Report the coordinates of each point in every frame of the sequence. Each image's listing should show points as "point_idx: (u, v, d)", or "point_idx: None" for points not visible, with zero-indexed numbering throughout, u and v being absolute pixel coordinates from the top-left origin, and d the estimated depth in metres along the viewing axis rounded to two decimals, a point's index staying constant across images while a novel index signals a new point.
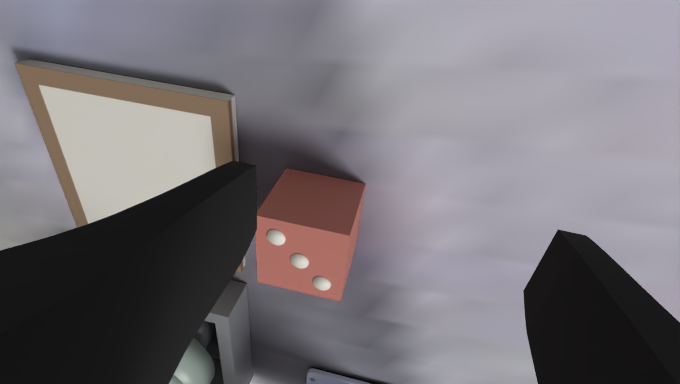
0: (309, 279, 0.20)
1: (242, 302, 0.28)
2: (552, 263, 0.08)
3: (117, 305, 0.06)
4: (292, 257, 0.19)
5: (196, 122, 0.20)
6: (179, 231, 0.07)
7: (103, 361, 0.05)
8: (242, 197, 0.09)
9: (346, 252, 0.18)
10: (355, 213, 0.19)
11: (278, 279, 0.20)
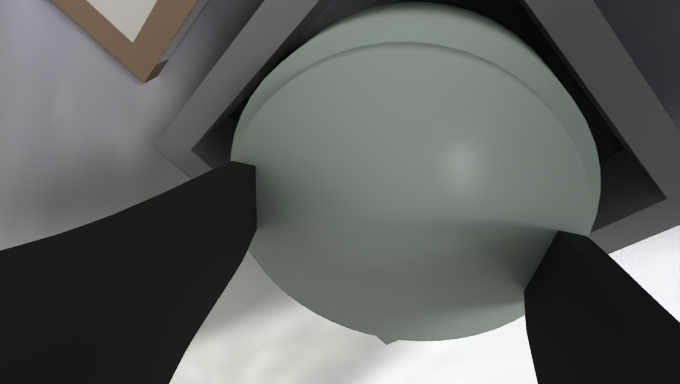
0: None
1: None
2: (552, 263, 0.08)
3: (117, 305, 0.06)
4: None
5: None
6: (179, 231, 0.07)
7: (103, 361, 0.05)
8: (242, 197, 0.09)
9: None
10: None
11: None
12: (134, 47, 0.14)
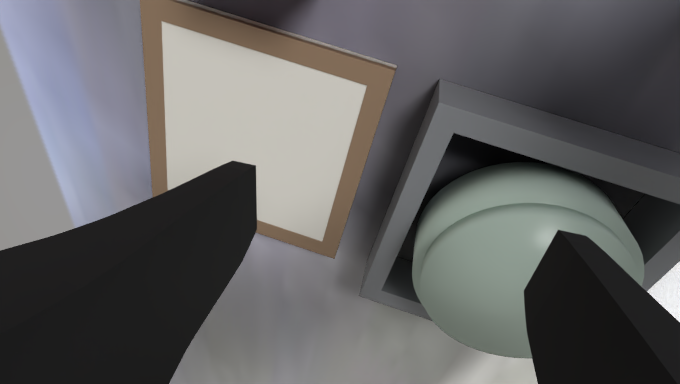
0: None
1: (463, 92, 0.17)
2: (552, 263, 0.08)
3: (117, 305, 0.06)
4: None
5: (171, 41, 0.18)
6: (179, 231, 0.07)
7: (103, 361, 0.05)
8: (242, 197, 0.09)
9: None
10: None
11: None
12: (323, 243, 0.23)
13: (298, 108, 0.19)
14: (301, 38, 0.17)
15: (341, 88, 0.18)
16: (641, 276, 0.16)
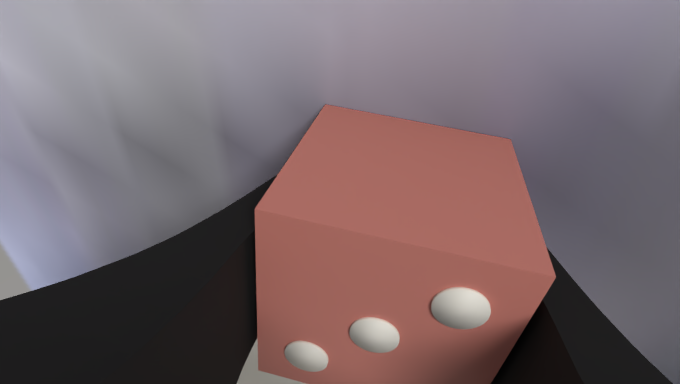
0: (446, 331, 0.07)
1: None
2: None
3: (200, 327, 0.05)
4: (363, 345, 0.07)
5: None
6: (248, 247, 0.07)
7: None
8: None
9: (320, 225, 0.06)
10: (289, 160, 0.07)
11: None
12: None
13: None
14: None
15: None
16: None
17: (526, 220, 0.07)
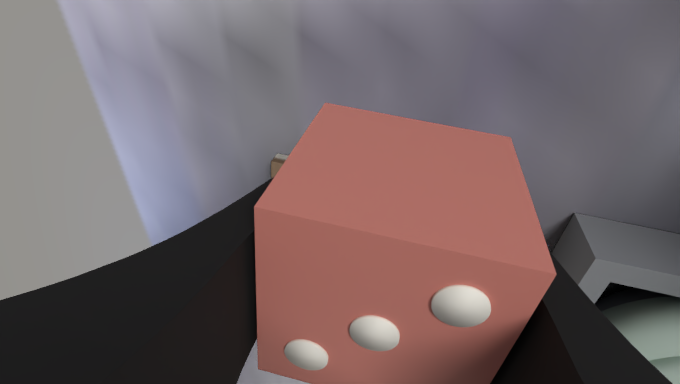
0: (445, 329, 0.07)
1: (605, 229, 0.17)
2: None
3: (200, 327, 0.05)
4: (363, 344, 0.07)
5: None
6: (248, 247, 0.07)
7: None
8: None
9: (320, 223, 0.06)
10: (288, 158, 0.07)
11: None
12: None
13: None
14: None
15: None
16: None
17: (526, 218, 0.07)
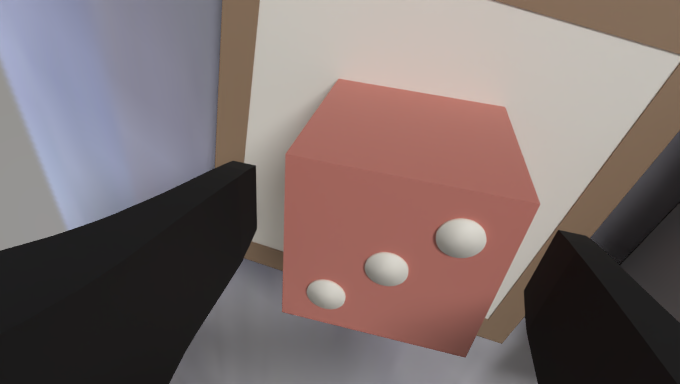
0: (448, 261, 0.08)
1: None
2: (552, 263, 0.08)
3: (117, 305, 0.06)
4: (377, 280, 0.08)
5: None
6: (179, 231, 0.07)
7: (103, 361, 0.05)
8: (242, 197, 0.09)
9: (341, 166, 0.07)
10: (310, 120, 0.09)
11: (454, 320, 0.09)
12: (490, 322, 0.15)
13: (513, 103, 0.10)
14: None
15: (622, 63, 0.09)
16: None
17: (517, 165, 0.08)
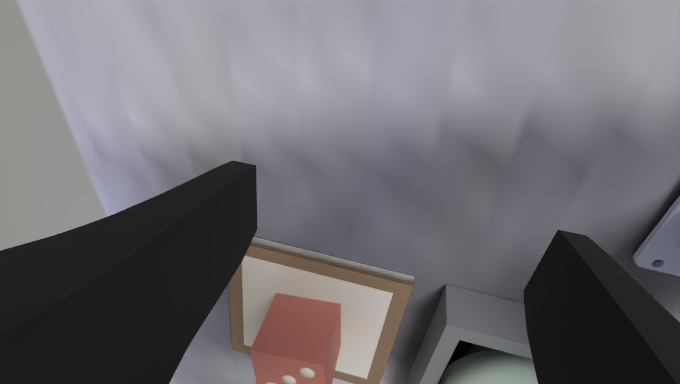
0: (306, 378, 0.23)
1: (464, 299, 0.23)
2: (552, 263, 0.08)
3: (117, 305, 0.06)
4: (287, 383, 0.24)
5: (248, 265, 0.26)
6: (179, 231, 0.07)
7: (103, 361, 0.05)
8: (242, 197, 0.09)
9: (266, 354, 0.23)
10: (260, 327, 0.24)
11: None
12: (368, 380, 0.30)
13: (343, 303, 0.26)
14: (343, 264, 0.24)
15: (374, 293, 0.25)
16: None
17: (326, 345, 0.23)
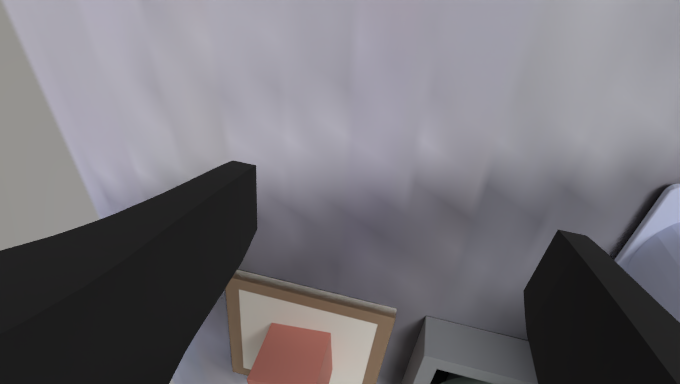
0: None
1: (441, 330, 0.25)
2: (552, 263, 0.08)
3: (117, 305, 0.06)
4: None
5: (245, 298, 0.28)
6: (179, 231, 0.07)
7: (103, 361, 0.05)
8: (242, 197, 0.09)
9: (262, 382, 0.25)
10: (257, 356, 0.27)
11: None
12: None
13: (333, 332, 0.28)
14: (331, 298, 0.26)
15: (360, 324, 0.27)
16: None
17: (316, 373, 0.25)
